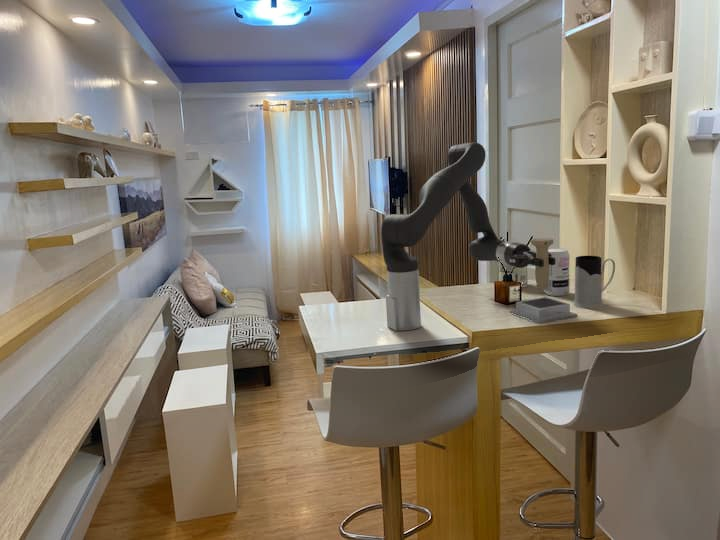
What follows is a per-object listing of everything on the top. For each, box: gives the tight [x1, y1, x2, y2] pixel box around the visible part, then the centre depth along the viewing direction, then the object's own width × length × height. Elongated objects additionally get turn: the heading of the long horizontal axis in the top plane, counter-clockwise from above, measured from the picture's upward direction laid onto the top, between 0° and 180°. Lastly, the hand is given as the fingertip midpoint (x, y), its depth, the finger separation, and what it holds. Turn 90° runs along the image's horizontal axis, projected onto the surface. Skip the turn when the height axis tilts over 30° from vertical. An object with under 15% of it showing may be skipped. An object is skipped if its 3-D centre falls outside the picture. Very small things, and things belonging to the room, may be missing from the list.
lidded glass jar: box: [498, 262, 529, 289], centre depth 219 cm, size 10×10×14 cm
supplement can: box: [543, 248, 570, 297], centre depth 203 cm, size 8×8×15 cm
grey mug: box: [572, 255, 616, 309], centre depth 188 cm, size 9×14×15 cm, turn 108°
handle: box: [530, 237, 554, 291], centre depth 178 cm, size 5×6×15 cm
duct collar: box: [508, 296, 578, 325], centre depth 180 cm, size 14×14×4 cm
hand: (548, 262), depth 175 cm, fingers closed on handle, 3 cm apart
